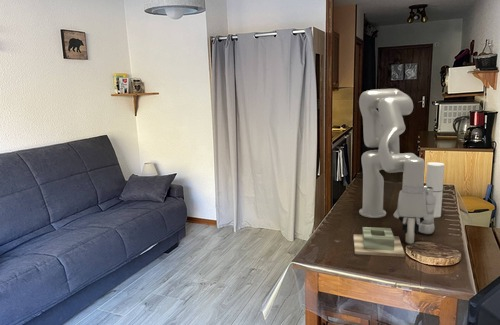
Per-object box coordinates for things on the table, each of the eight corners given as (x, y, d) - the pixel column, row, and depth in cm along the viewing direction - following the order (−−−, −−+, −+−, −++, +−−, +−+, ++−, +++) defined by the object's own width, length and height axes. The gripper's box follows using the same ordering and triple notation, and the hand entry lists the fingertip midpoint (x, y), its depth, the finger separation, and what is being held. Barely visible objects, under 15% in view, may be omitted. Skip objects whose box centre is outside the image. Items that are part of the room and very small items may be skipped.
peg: (404, 239, 155) (406, 212, 152) (413, 240, 154) (414, 212, 152) (405, 243, 152) (407, 215, 149) (414, 243, 151) (416, 215, 149)
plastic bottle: (413, 231, 163) (416, 187, 159) (425, 228, 166) (428, 184, 161) (425, 237, 157) (428, 191, 153) (437, 234, 160) (440, 188, 155)
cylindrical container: (425, 217, 178) (429, 165, 173) (422, 211, 185) (425, 162, 180) (442, 217, 177) (446, 165, 171) (438, 212, 184) (442, 162, 178)
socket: (353, 236, 161) (353, 224, 160) (398, 239, 157) (399, 226, 155) (354, 254, 146) (355, 240, 144) (404, 256, 142) (405, 242, 140)
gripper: (433, 186, 150) (430, 229, 154) (389, 185, 153) (387, 227, 158) (437, 192, 143) (434, 237, 147) (391, 191, 146) (389, 235, 151)
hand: (410, 231), depth 152 cm, fingers closed on peg, 3 cm apart
